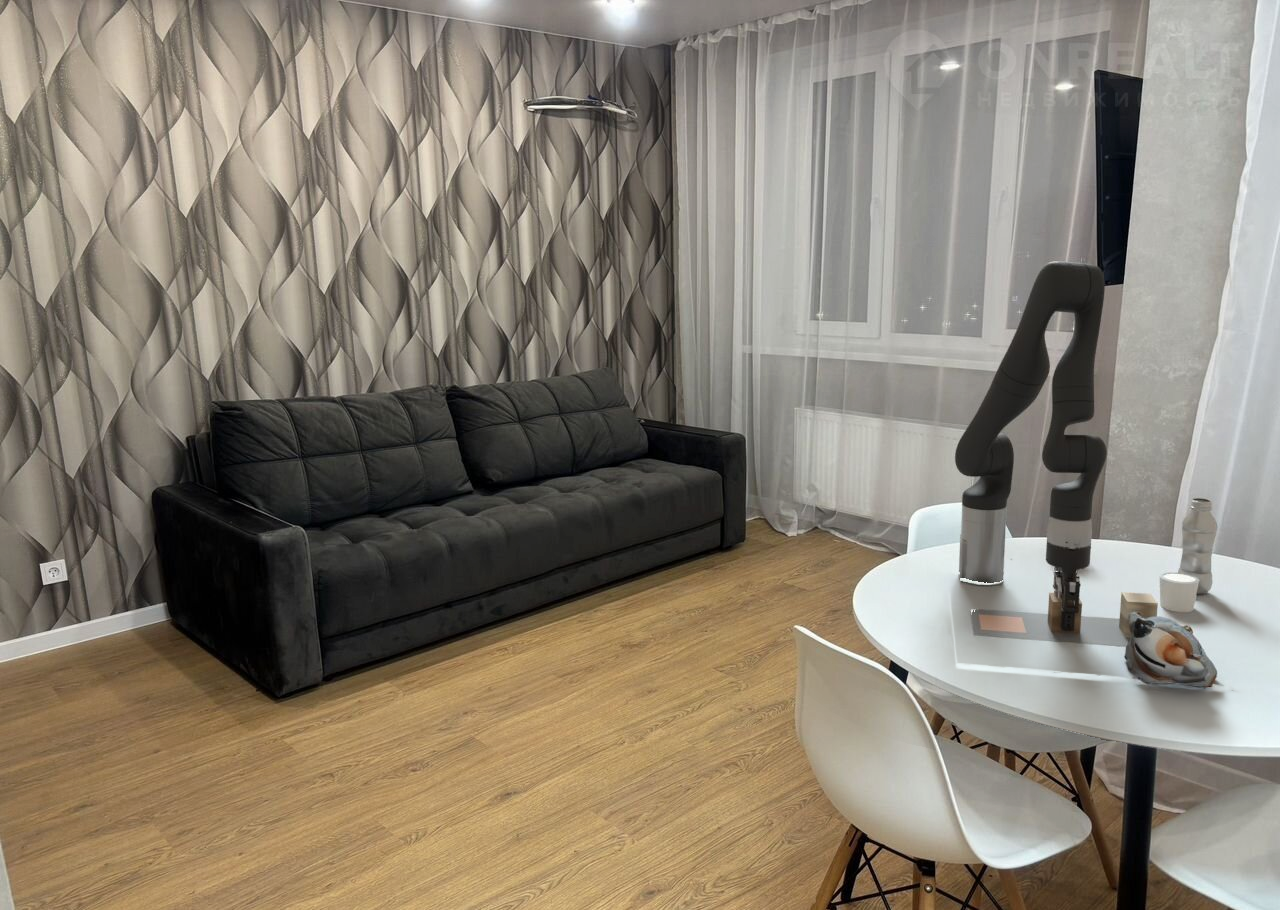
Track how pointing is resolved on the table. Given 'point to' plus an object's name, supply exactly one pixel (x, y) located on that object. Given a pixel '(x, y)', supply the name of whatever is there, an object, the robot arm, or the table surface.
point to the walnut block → (1055, 615)
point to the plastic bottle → (1198, 543)
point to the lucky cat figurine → (1167, 653)
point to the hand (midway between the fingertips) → (1063, 622)
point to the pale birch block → (1135, 609)
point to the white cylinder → (1178, 591)
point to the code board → (1045, 628)
